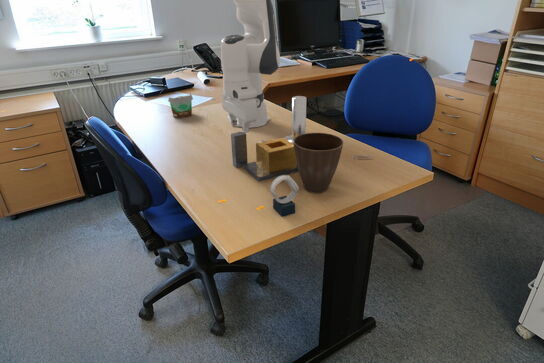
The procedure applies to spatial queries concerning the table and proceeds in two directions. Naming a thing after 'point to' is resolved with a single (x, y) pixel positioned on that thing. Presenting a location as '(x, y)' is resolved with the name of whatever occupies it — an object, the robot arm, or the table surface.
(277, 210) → the watch
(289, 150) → the gold block fixture
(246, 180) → the table surface
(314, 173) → the plant pot
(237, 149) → the grey square rod
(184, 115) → the food container
